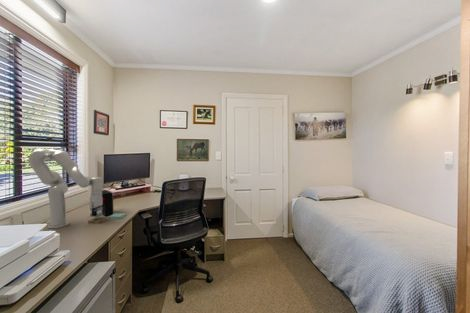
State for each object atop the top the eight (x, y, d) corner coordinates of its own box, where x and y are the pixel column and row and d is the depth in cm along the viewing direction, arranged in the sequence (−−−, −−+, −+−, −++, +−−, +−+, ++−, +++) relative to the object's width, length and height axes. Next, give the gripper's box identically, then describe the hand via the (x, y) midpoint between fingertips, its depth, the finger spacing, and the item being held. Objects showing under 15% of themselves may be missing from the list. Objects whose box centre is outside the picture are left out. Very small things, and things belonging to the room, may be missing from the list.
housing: (90, 216, 184) (90, 207, 183) (94, 214, 189) (94, 206, 188) (98, 216, 183) (98, 208, 183) (102, 215, 188) (102, 206, 188)
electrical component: (115, 214, 205) (114, 192, 204) (102, 217, 197) (102, 194, 196) (108, 210, 217) (107, 189, 216) (96, 213, 209) (95, 191, 208)
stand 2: (108, 219, 192) (108, 216, 192) (115, 215, 202) (115, 213, 202) (120, 219, 192) (120, 216, 192) (126, 215, 202) (126, 213, 202)
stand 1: (87, 223, 182) (87, 220, 182) (96, 219, 192) (96, 216, 192) (100, 223, 181) (100, 220, 181) (107, 219, 191) (107, 217, 191)
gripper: (98, 190, 194) (98, 211, 195) (84, 194, 177) (84, 217, 178) (107, 190, 194) (107, 212, 194) (94, 194, 177) (93, 218, 177)
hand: (96, 214), depth 186 cm, fingers closed on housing, 5 cm apart
